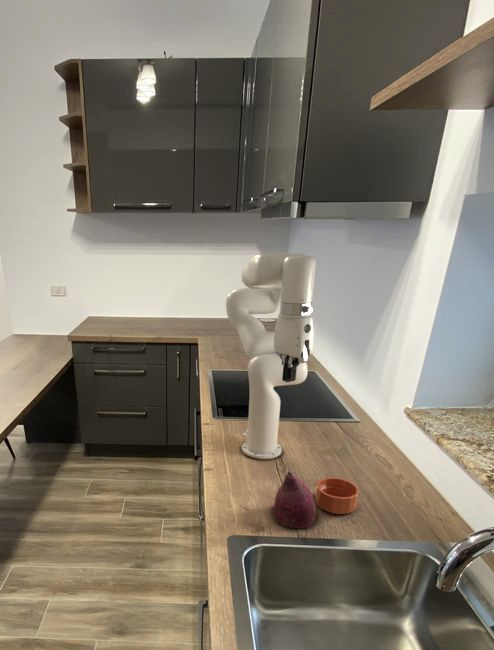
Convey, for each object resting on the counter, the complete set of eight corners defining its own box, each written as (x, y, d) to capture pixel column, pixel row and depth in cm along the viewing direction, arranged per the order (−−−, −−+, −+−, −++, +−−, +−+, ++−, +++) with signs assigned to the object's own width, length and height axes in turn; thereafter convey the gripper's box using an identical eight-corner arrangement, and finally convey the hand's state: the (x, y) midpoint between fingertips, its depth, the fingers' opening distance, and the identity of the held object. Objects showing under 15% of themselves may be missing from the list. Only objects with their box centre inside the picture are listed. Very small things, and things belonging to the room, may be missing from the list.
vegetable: (284, 541, 106) (278, 496, 98) (267, 512, 115) (260, 469, 107) (324, 526, 107) (322, 481, 99) (304, 499, 116) (300, 455, 108)
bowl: (306, 500, 117) (308, 483, 115) (334, 489, 121) (336, 473, 119) (336, 520, 109) (338, 502, 107) (364, 508, 113) (367, 491, 111)
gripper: (329, 312, 105) (320, 386, 112) (286, 304, 117) (280, 371, 124) (305, 315, 101) (297, 391, 109) (263, 306, 113) (259, 375, 121)
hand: (288, 380), depth 117 cm, fingers closed
